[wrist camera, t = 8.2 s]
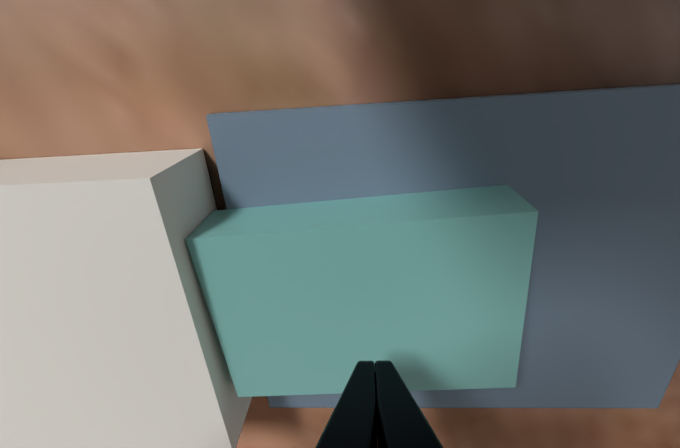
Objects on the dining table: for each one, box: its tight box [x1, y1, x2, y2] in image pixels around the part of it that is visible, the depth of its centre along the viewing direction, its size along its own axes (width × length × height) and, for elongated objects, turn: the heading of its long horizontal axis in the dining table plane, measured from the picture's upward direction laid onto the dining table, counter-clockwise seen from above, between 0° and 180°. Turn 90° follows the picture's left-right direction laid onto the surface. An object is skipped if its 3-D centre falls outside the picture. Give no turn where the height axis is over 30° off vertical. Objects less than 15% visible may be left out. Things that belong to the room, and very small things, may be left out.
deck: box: [0, 148, 252, 448], centre depth 12 cm, size 14×10×3 cm
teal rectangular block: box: [186, 185, 538, 397], centre depth 11 cm, size 9×6×2 cm, turn 96°
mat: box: [206, 84, 680, 408], centre depth 12 cm, size 16×12×1 cm
